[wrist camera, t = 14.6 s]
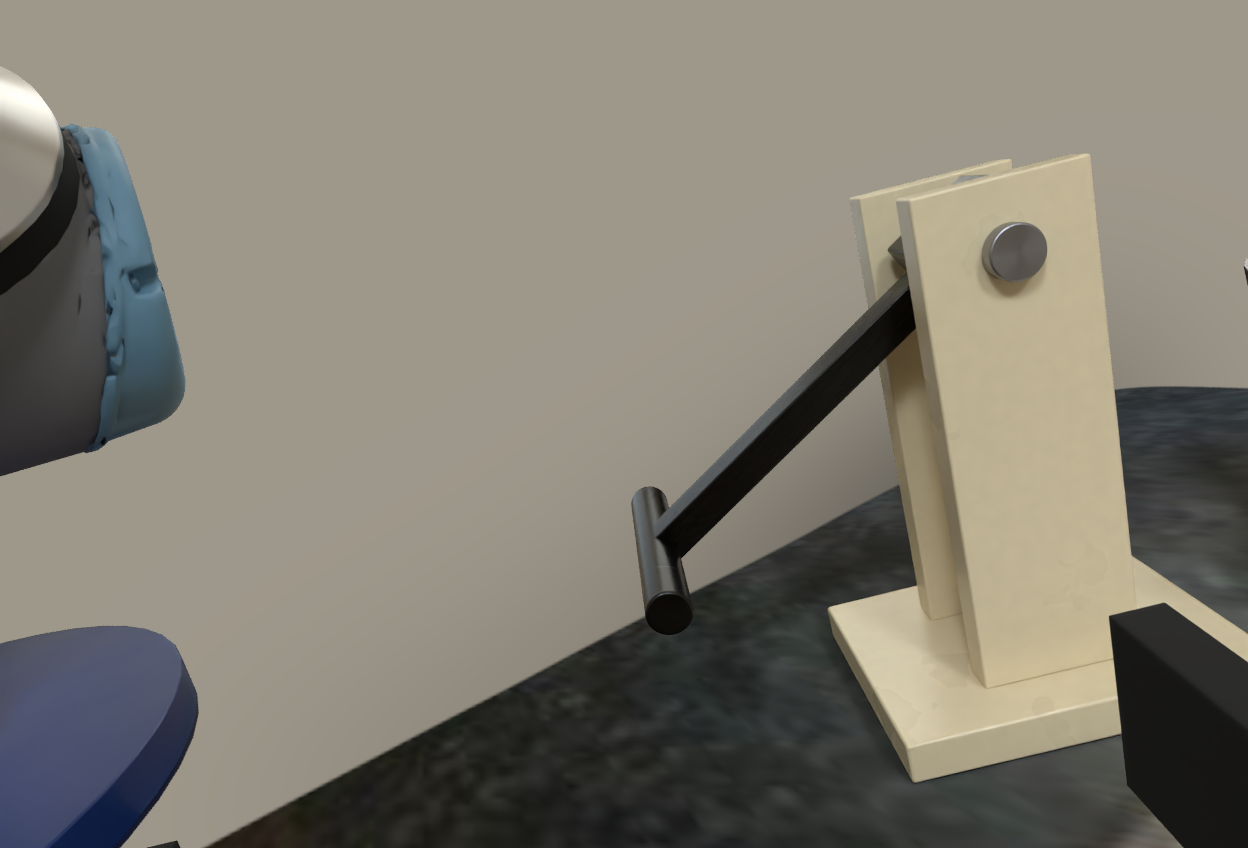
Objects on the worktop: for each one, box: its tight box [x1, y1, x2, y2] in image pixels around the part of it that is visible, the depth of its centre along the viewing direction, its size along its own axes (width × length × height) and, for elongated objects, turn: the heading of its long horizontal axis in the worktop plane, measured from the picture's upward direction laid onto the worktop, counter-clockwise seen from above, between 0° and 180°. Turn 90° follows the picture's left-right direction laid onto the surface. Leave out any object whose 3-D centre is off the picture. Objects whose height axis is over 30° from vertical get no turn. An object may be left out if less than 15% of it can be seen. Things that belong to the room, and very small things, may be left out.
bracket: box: [828, 154, 1248, 783], centre depth 25 cm, size 10×8×15 cm
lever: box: [632, 175, 987, 635], centre depth 24 cm, size 14×8×2 cm, turn 90°
